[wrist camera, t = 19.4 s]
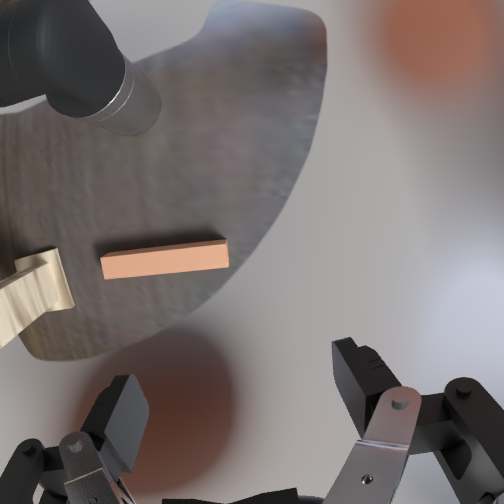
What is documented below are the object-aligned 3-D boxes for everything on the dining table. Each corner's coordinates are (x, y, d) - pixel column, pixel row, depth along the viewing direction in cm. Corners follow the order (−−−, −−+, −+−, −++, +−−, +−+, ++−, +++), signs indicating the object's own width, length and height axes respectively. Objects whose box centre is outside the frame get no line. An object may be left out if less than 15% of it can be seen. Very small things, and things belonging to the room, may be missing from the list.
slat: (226, 238, 49) (226, 243, 45) (229, 260, 50) (228, 267, 46) (109, 252, 48) (100, 257, 45) (113, 272, 49) (104, 279, 45)
